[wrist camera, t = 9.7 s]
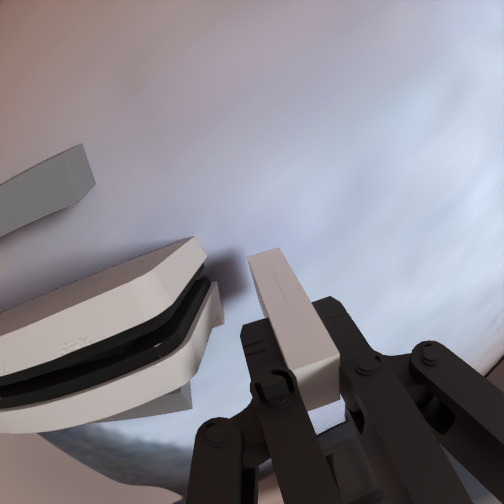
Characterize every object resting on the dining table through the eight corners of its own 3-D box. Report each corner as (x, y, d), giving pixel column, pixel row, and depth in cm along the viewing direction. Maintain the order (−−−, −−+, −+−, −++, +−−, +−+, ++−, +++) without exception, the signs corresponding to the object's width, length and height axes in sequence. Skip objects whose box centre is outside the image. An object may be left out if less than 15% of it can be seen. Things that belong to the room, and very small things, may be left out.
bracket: (189, 379, 20) (192, 408, 17) (24, 402, 18) (18, 425, 16) (82, 143, 11) (61, 154, 9) (-87, 245, 10) (-106, 264, 8)
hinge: (23, 370, 17) (-48, 448, 7) (-6, 313, 16) (-95, 372, 6) (231, 310, 17) (243, 432, 7) (201, 230, 16) (171, 278, 7)
